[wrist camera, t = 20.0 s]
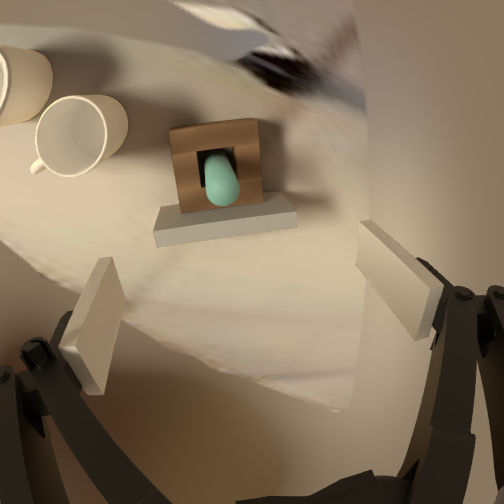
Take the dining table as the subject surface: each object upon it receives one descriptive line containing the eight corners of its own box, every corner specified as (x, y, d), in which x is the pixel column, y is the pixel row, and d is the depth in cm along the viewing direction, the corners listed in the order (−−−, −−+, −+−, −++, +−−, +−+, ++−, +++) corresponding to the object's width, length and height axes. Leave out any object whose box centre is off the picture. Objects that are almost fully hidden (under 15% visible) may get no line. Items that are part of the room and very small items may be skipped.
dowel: (203, 151, 39) (204, 175, 27) (227, 148, 39) (238, 172, 28) (205, 174, 40) (208, 207, 29) (228, 171, 40) (241, 204, 29)
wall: (160, 207, 41) (152, 231, 34) (280, 190, 43) (296, 211, 36) (163, 221, 42) (156, 247, 35) (280, 204, 44) (297, 227, 37)
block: (171, 128, 37) (168, 131, 33) (252, 117, 38) (257, 120, 34) (182, 203, 41) (181, 213, 38) (258, 192, 42) (263, 202, 39)
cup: (141, 135, 36) (123, 147, 28) (70, 184, 37) (38, 211, 29) (110, 82, 33) (83, 78, 24) (40, 136, 34) (1, 150, 25)
